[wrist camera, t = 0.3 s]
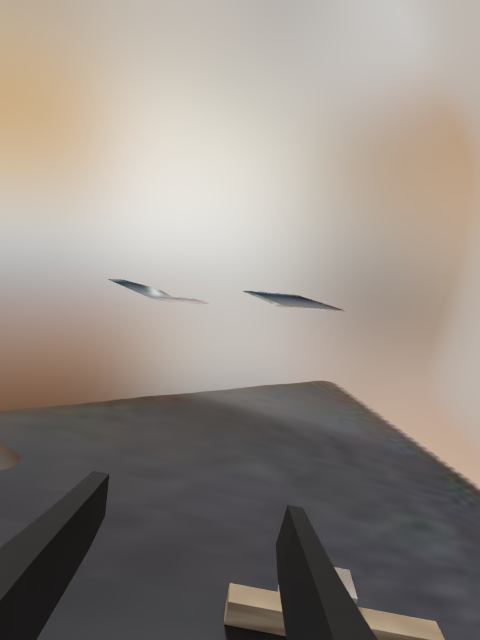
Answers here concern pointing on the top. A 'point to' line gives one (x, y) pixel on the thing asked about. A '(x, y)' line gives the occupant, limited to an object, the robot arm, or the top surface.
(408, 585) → the top surface
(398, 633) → the guide channel
